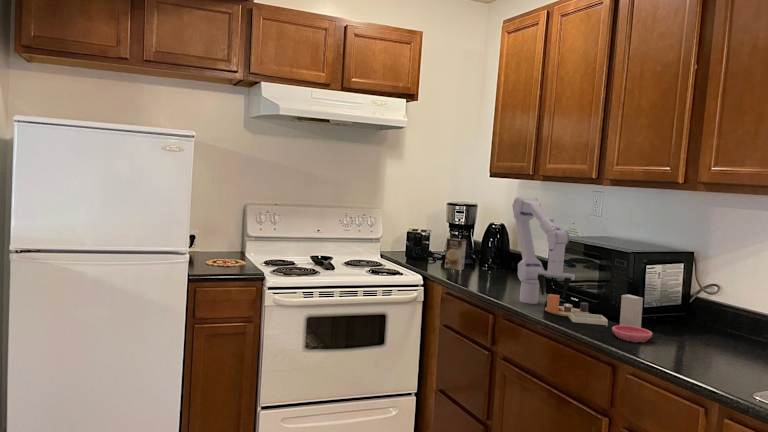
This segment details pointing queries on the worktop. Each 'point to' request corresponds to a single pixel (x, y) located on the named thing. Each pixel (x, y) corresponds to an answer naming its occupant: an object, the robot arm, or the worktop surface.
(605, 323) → the tray
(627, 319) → the skincare box
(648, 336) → the pink bowl
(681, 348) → the worktop surface
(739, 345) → the worktop surface
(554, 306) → the block
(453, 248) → the coffee box
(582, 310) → the dark grey cylinder
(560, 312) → the crank plate
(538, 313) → the worktop surface
